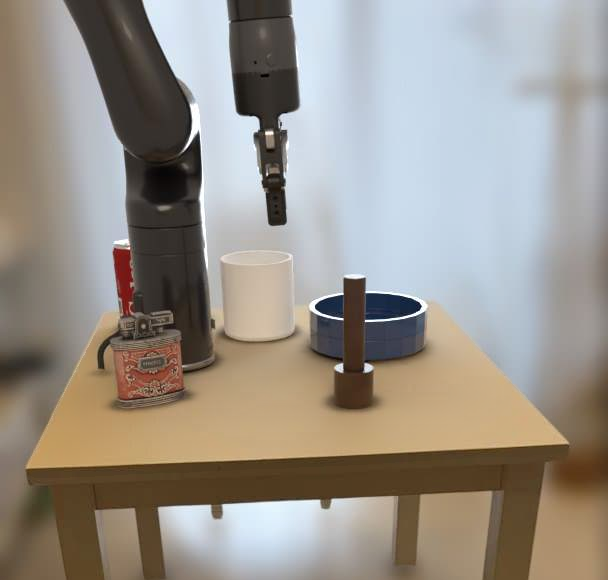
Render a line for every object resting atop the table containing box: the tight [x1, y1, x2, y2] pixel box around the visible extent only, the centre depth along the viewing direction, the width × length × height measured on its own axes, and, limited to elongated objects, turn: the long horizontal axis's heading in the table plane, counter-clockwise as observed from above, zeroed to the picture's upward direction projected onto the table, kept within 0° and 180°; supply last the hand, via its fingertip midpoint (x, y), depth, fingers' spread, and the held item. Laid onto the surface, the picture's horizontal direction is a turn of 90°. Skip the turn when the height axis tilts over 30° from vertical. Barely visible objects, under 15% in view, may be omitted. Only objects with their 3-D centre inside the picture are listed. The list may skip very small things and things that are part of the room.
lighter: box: [109, 311, 187, 409], centre depth 100 cm, size 8×3×10 cm, turn 117°
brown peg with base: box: [333, 273, 375, 410], centre depth 97 cm, size 4×4×14 cm
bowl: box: [308, 291, 429, 362], centre depth 118 cm, size 15×15×6 cm
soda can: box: [112, 238, 134, 319], centre depth 127 cm, size 5×5×12 cm
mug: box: [219, 249, 296, 342], centre depth 125 cm, size 13×10×10 cm
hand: (278, 218), depth 107 cm, fingers open, 8 cm apart
